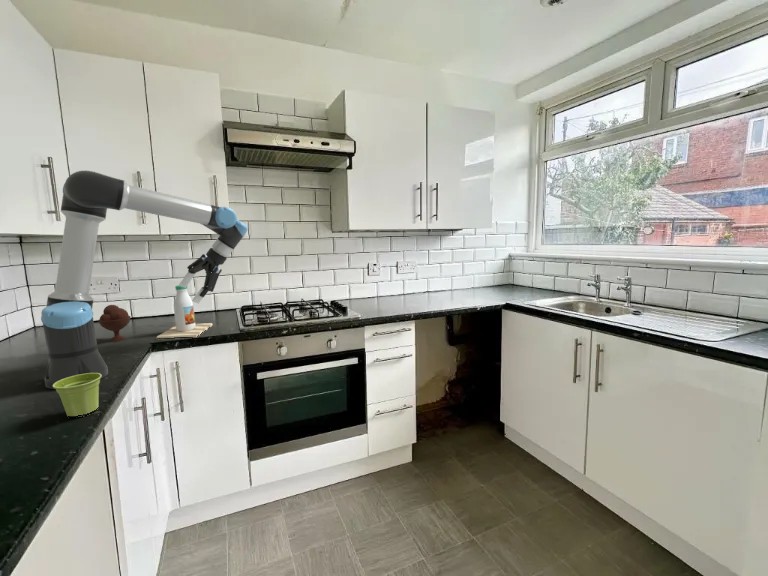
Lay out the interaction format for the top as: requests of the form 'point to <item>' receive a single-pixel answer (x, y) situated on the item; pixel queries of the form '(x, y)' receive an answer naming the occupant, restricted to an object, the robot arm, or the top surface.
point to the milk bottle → (183, 310)
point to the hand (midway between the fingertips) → (188, 294)
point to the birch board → (191, 333)
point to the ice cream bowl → (114, 320)
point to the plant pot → (79, 393)
